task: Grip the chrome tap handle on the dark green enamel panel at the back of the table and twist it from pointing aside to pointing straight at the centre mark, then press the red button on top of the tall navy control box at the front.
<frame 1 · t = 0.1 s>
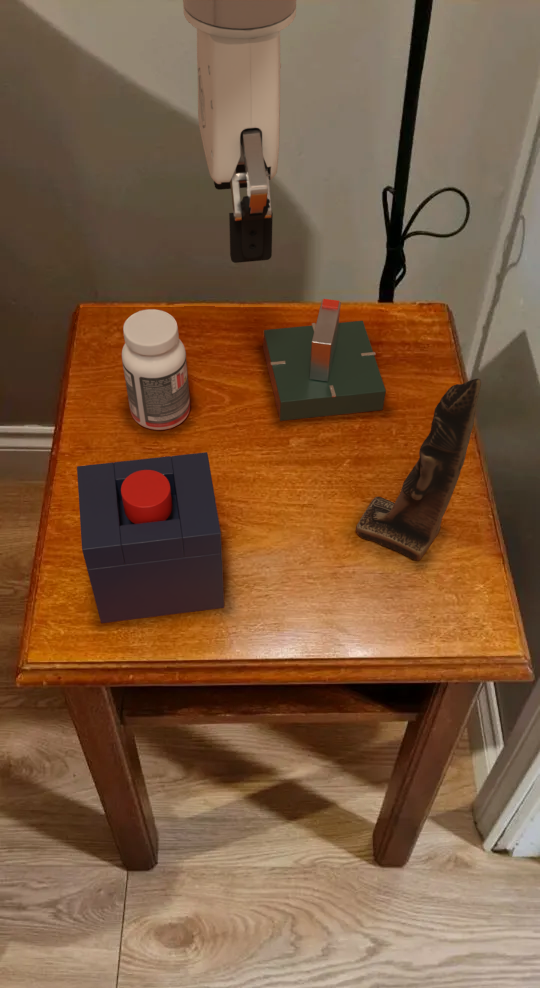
hand: (241, 221, 74), 18 cm above the table, tool pointing down, fingers open, 9 cm apart
button box: (158, 575, 76), on the table
tap handle: (325, 339, 85), point 5 cm above the table, hinge at 70.0°
pill bottle: (160, 412, 86), on the table
statue: (399, 537, 79), on the table
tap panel: (321, 379, 89), on the table
red button: (147, 498, 67), point 10 cm above the table, slide at 0.0 cm
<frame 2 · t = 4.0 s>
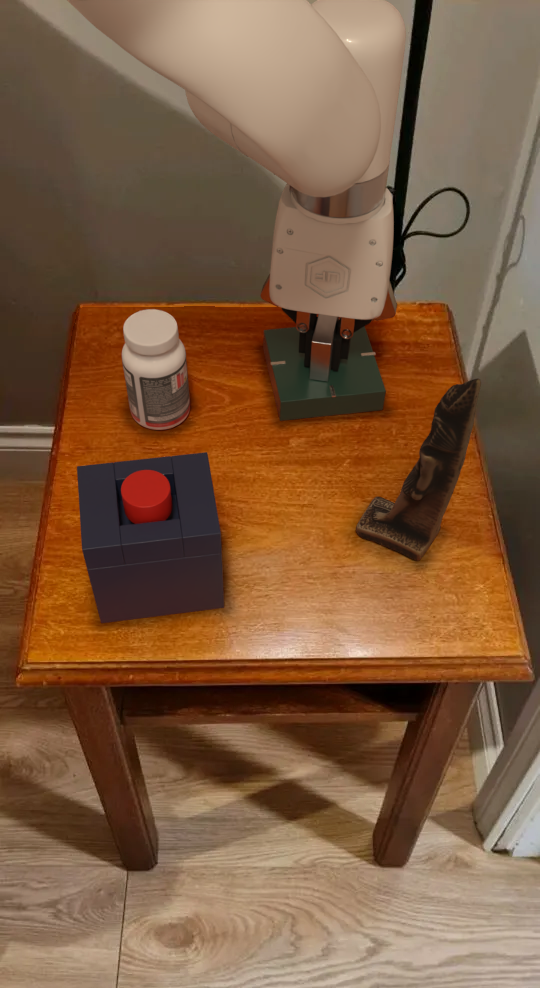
hand: (323, 358, 87), 3 cm above the table, tool pointing down, fingers closed
nothing on the table moved.
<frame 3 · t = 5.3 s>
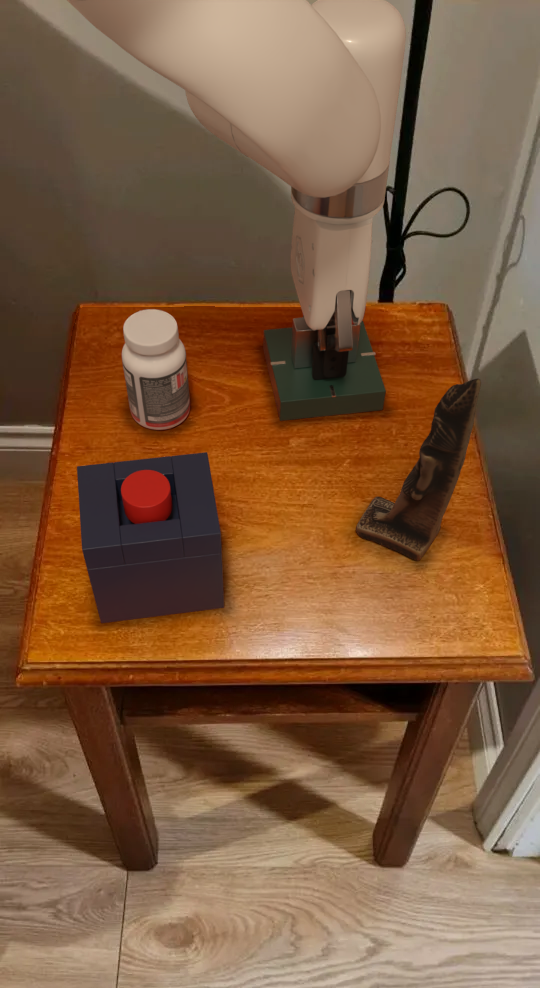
hand: (323, 357, 87), 3 cm above the table, tool pointing down, fingers open, 4 cm apart
tap handle: (325, 339, 85), point 5 cm above the table, hinge at 0.5°
everything else where it was.
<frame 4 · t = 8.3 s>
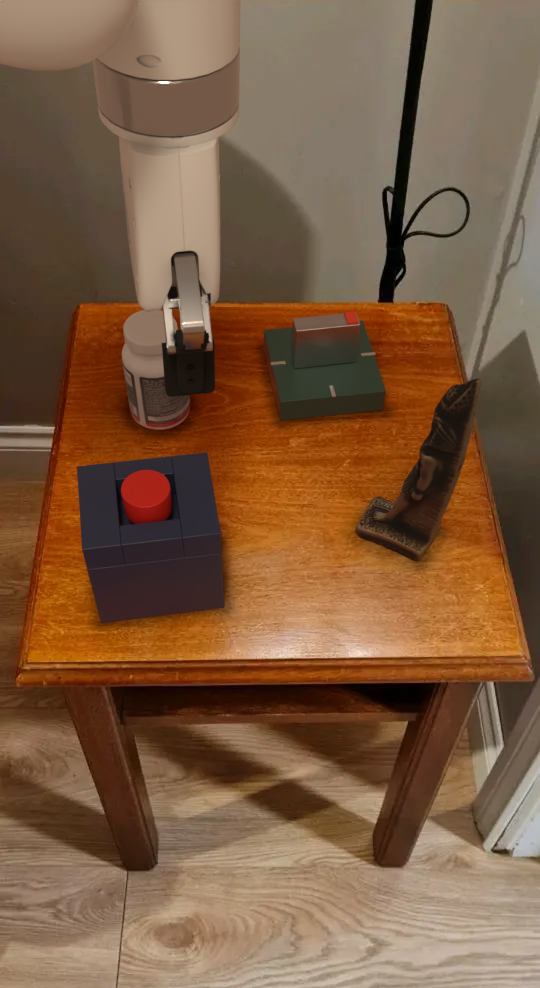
hand: (181, 342, 62), 20 cm above the table, tool pointing down, fingers open, 9 cm apart
nothing on the table moved.
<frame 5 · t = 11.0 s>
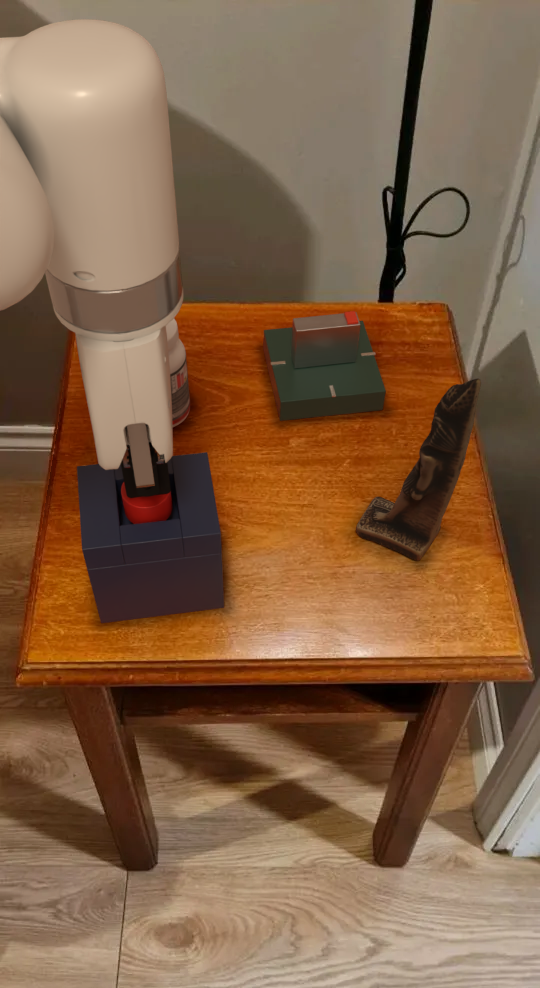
hand: (148, 487, 66), 11 cm above the table, tool pointing down, fingers closed
red button: (147, 498, 67), point 10 cm above the table, slide at -0.1 cm, touching gripper
everything else where it was.
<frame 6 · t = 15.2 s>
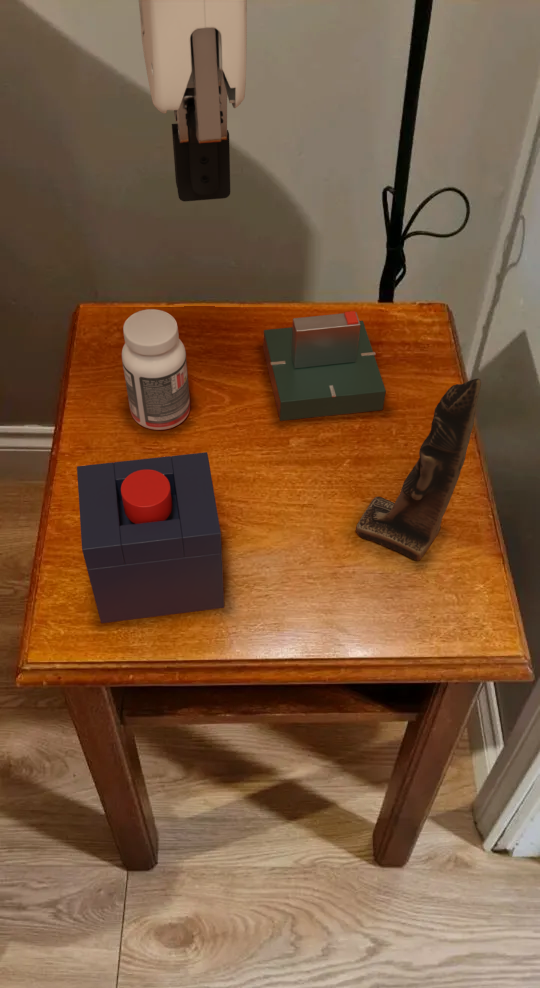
hand: (203, 191, 56), 29 cm above the table, tool pointing down, fingers closed
red button: (146, 497, 67), point 10 cm above the table, slide at 0.1 cm
everything else where it was.
at the end: tap handle at +0° (first picture: +70°); red button pushed in 1.0 cm at the most during the clip, back to where it started at the end; red button slide at 0.1 cm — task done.
